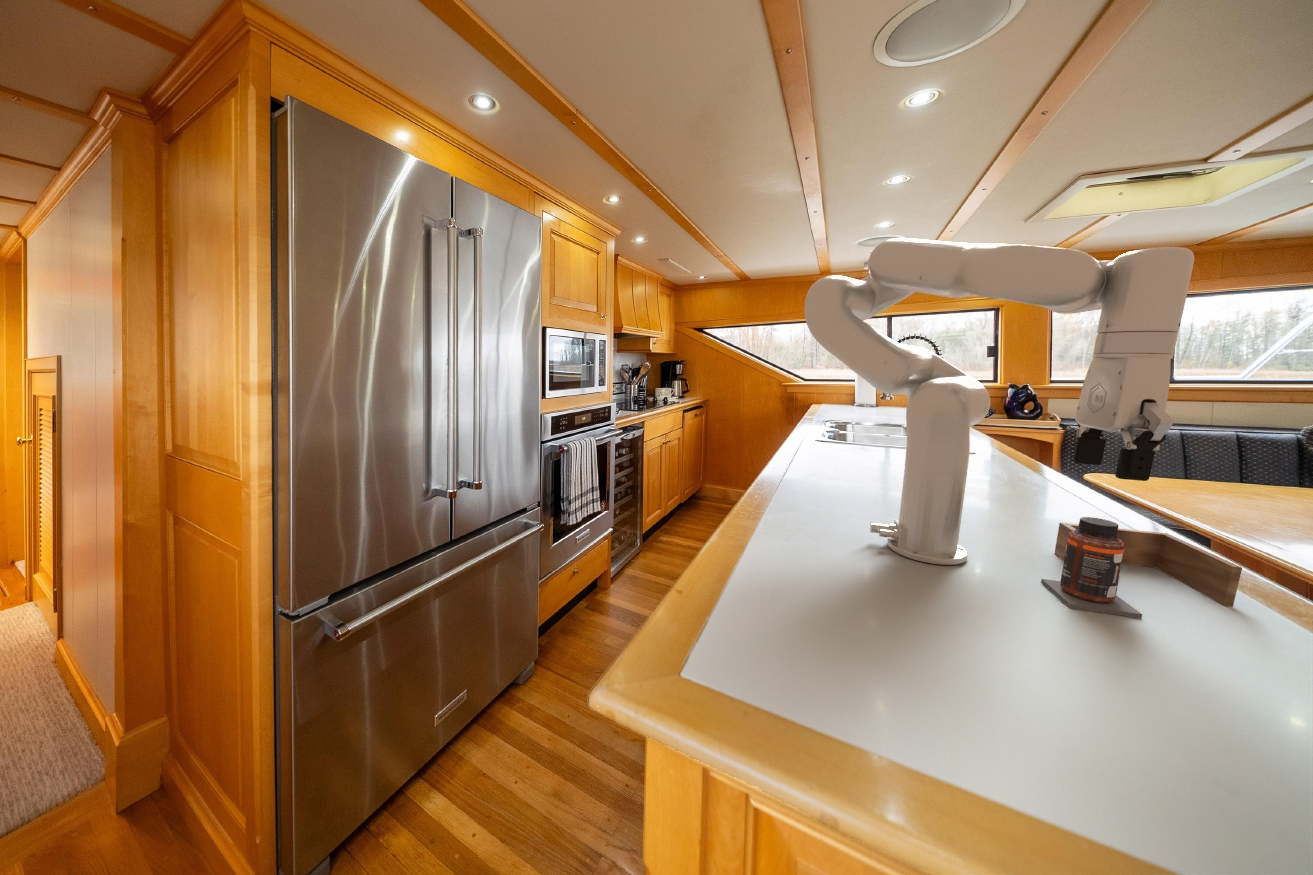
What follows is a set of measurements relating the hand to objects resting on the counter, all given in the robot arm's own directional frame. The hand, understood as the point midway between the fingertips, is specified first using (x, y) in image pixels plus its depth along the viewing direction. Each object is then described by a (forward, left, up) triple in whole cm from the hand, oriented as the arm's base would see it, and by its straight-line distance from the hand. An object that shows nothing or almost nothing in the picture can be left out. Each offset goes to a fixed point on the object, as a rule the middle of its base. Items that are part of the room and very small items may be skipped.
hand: (1107, 470), depth 63 cm
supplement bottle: (0, 0, -19) cm, 19 cm away
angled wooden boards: (+12, +11, -19) cm, 25 cm away
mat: (0, 0, -19) cm, 19 cm away
